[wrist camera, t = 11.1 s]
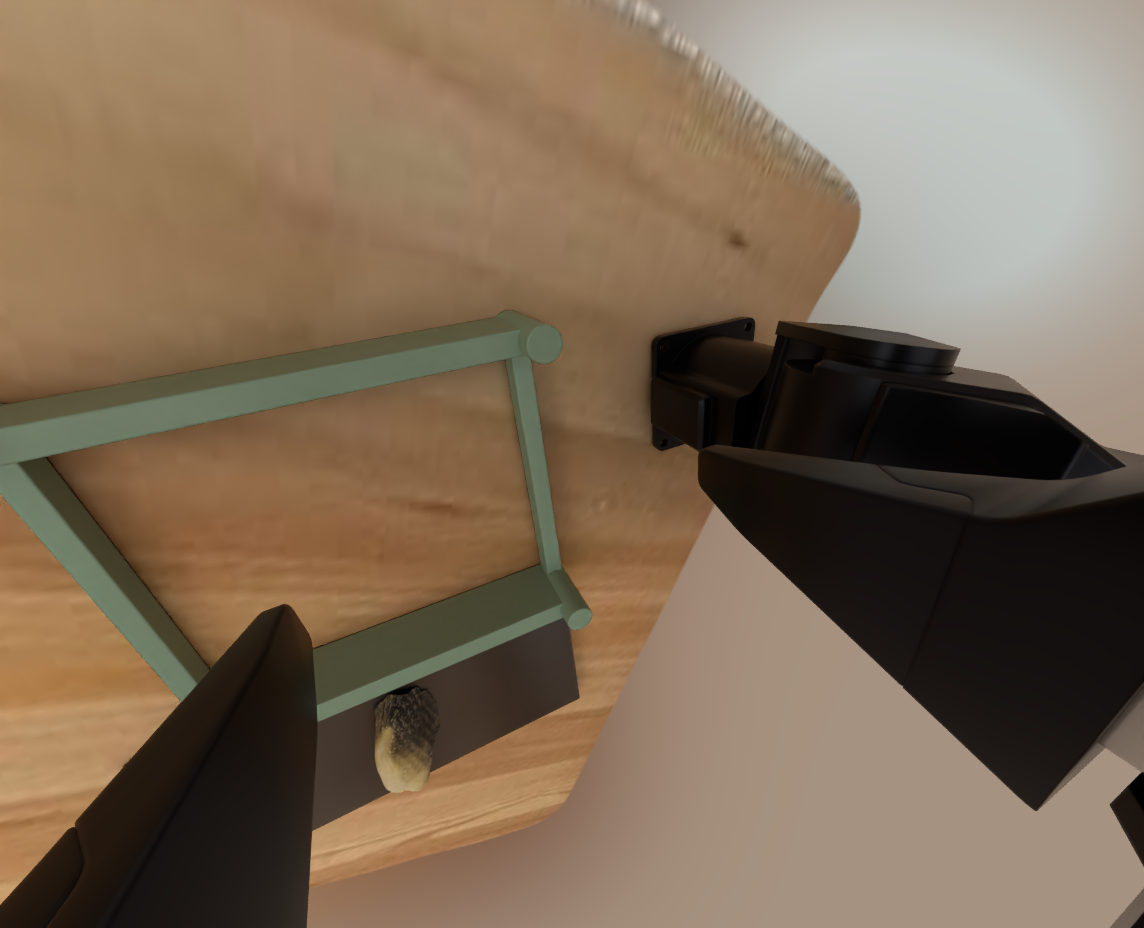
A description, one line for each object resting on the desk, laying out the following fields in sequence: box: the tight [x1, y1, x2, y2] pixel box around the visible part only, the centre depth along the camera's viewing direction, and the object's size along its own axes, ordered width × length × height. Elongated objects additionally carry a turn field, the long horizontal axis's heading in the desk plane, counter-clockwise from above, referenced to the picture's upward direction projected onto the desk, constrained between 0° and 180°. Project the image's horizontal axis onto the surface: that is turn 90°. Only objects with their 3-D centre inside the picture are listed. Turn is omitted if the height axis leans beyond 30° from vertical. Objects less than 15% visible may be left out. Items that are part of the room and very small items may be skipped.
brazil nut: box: [374, 687, 440, 793], centre depth 25 cm, size 6×5×3 cm
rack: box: [0, 310, 592, 722], centre depth 18 cm, size 18×15×4 cm
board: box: [123, 618, 580, 831], centre depth 26 cm, size 22×10×1 cm, turn 97°
